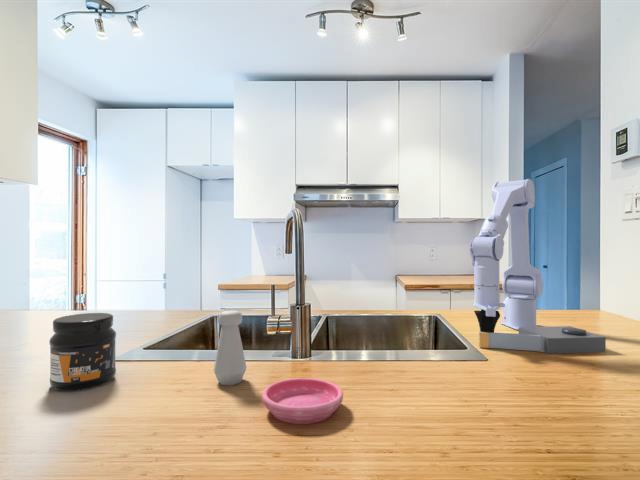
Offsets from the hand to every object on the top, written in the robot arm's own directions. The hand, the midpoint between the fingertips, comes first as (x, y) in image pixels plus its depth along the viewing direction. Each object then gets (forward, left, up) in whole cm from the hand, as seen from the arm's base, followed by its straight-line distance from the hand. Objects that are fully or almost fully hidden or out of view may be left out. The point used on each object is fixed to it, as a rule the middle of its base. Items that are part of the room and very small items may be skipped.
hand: (487, 340), depth 95 cm
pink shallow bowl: (+32, -46, -2) cm, 56 cm away
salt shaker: (+19, -59, -2) cm, 62 cm away
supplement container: (+17, -86, -2) cm, 88 cm away
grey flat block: (+1, +18, -1) cm, 18 cm away
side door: (+3, +4, -1) cm, 5 cm away
